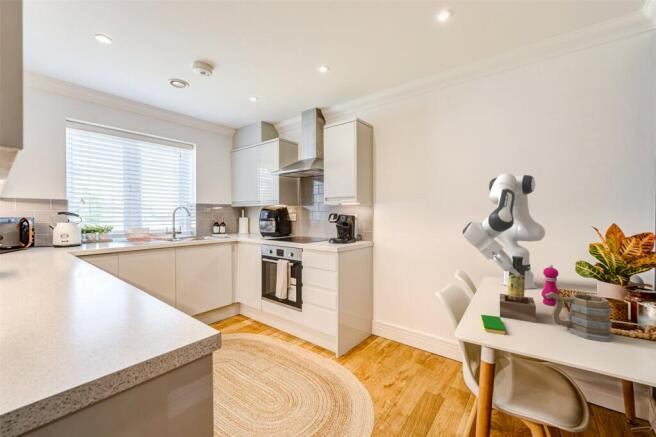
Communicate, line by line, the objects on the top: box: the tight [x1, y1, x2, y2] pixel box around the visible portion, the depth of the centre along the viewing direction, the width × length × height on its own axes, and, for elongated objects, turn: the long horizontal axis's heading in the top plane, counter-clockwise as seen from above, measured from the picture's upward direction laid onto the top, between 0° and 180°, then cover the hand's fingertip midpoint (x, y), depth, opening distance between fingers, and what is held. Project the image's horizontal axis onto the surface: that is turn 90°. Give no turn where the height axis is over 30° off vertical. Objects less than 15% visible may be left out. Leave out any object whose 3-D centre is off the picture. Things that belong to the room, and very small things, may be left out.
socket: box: [499, 293, 537, 324], centre depth 125 cm, size 13×13×7 cm
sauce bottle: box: [507, 256, 526, 301], centre depth 124 cm, size 6×6×20 cm
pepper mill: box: [541, 264, 561, 307], centre depth 136 cm, size 7×7×20 cm
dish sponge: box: [480, 314, 506, 336], centre depth 114 cm, size 7×14×2 cm, turn 155°
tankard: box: [545, 292, 615, 342], centre depth 107 cm, size 20×13×15 cm, turn 64°
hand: (518, 273), depth 124 cm, fingers closed on sauce bottle, 6 cm apart
